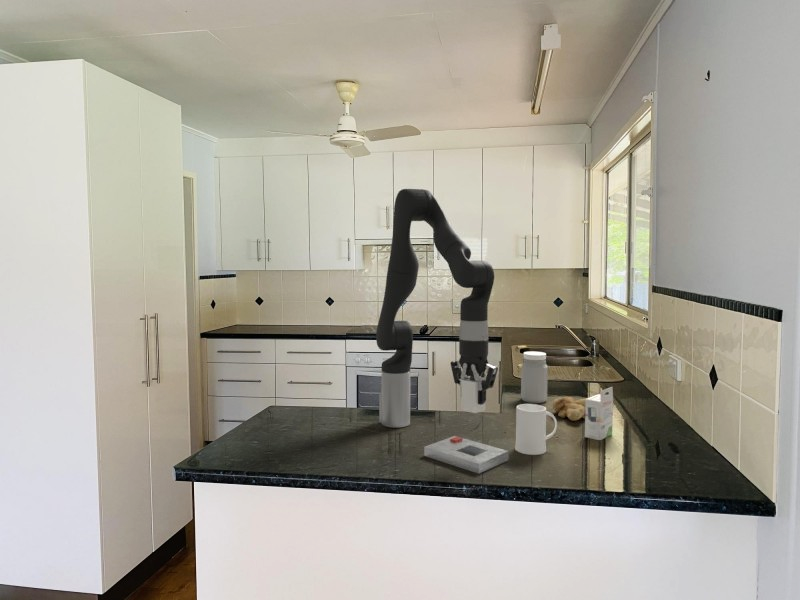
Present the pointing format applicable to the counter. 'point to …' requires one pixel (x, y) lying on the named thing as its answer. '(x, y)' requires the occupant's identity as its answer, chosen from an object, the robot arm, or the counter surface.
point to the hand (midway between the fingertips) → (473, 402)
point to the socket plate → (466, 454)
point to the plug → (470, 396)
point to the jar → (534, 377)
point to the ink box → (599, 415)
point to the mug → (532, 429)
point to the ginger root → (570, 407)
